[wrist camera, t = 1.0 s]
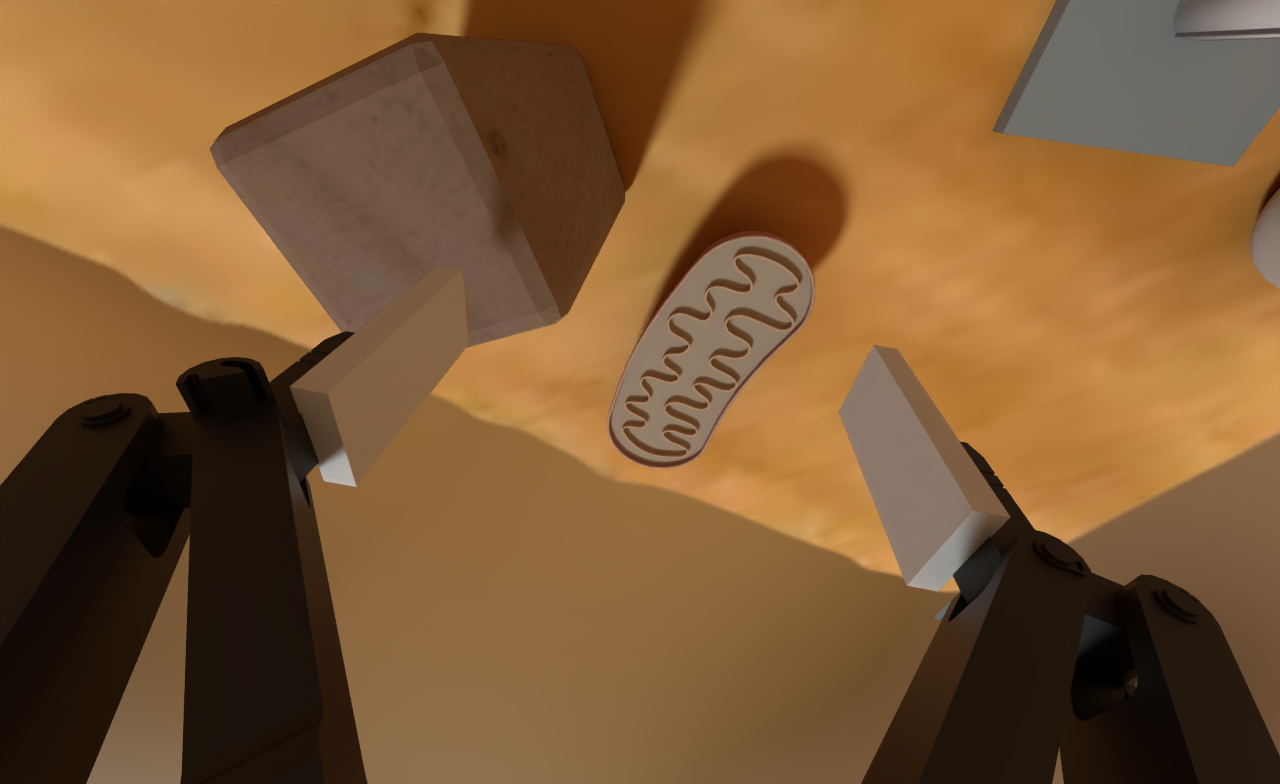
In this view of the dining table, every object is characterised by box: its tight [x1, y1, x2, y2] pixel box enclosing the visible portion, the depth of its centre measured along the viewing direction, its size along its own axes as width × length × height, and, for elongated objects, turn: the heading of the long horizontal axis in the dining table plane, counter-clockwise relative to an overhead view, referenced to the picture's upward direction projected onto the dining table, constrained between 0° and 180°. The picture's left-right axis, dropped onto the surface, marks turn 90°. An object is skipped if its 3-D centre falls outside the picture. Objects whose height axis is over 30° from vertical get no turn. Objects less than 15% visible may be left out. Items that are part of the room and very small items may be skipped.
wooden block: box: [210, 33, 625, 348], centre depth 25 cm, size 10×10×20 cm
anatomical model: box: [607, 231, 815, 469], centre depth 39 cm, size 23×10×5 cm, turn 154°
